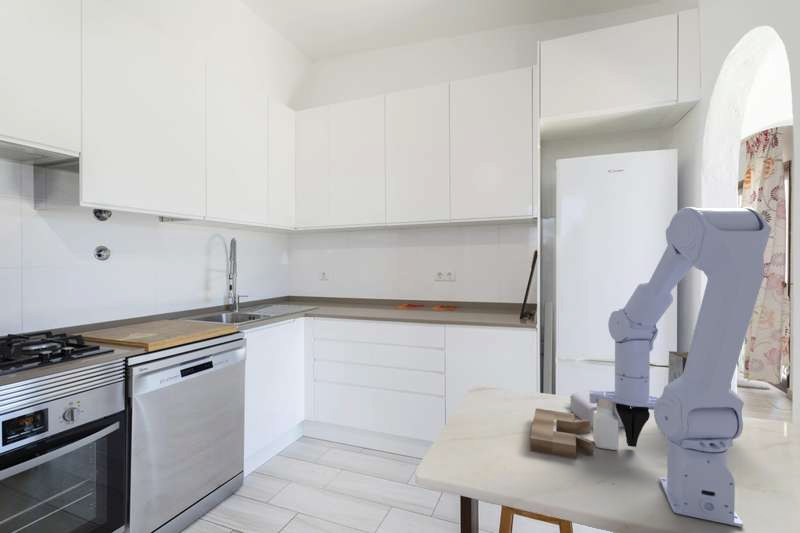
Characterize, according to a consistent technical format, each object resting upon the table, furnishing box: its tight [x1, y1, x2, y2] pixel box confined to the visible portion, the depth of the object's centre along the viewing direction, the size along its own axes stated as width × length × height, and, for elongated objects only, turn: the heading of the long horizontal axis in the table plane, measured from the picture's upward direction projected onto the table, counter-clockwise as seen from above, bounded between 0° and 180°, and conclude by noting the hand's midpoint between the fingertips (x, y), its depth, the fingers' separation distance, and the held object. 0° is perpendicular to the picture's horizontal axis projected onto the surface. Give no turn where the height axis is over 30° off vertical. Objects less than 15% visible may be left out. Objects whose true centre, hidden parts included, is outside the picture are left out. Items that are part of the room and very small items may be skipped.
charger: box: [569, 391, 624, 428], centre depth 92 cm, size 5×9×15 cm
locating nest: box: [529, 408, 594, 460], centre depth 79 cm, size 16×11×2 cm
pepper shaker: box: [592, 399, 620, 451], centre depth 76 cm, size 4×4×10 cm
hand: (631, 444), depth 75 cm, fingers closed
